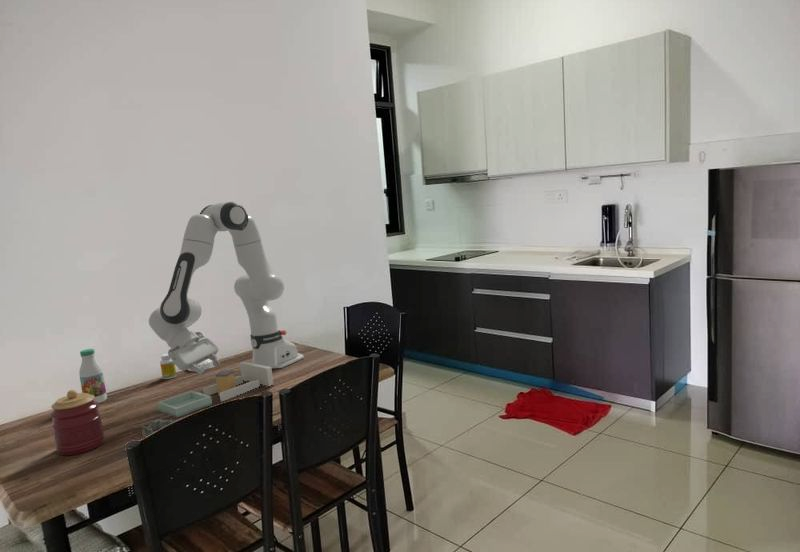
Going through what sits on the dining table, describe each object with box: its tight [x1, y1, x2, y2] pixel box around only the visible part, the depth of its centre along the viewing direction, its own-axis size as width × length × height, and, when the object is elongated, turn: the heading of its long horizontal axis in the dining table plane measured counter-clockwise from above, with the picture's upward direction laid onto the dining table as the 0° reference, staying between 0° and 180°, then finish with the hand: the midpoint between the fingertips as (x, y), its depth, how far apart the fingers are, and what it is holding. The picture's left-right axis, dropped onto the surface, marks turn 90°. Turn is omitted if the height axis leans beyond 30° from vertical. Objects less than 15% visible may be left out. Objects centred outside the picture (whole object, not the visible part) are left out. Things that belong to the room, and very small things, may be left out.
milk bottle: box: [78, 348, 108, 404], centre depth 211 cm, size 8×8×20 cm
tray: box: [157, 390, 213, 418], centre depth 196 cm, size 13×13×3 cm
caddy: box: [215, 370, 237, 397], centre depth 207 cm, size 4×4×8 cm
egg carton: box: [138, 418, 176, 437], centre depth 174 cm, size 11×8×4 cm
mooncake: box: [187, 359, 215, 372], centre depth 247 cm, size 12×12×4 cm
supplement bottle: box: [159, 353, 177, 380], centre depth 236 cm, size 5×5×10 cm
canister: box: [49, 389, 106, 456], centre depth 169 cm, size 13×13×18 cm
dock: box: [202, 361, 275, 402], centre depth 210 cm, size 20×18×7 cm
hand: (210, 369), depth 207 cm, fingers open, 8 cm apart
